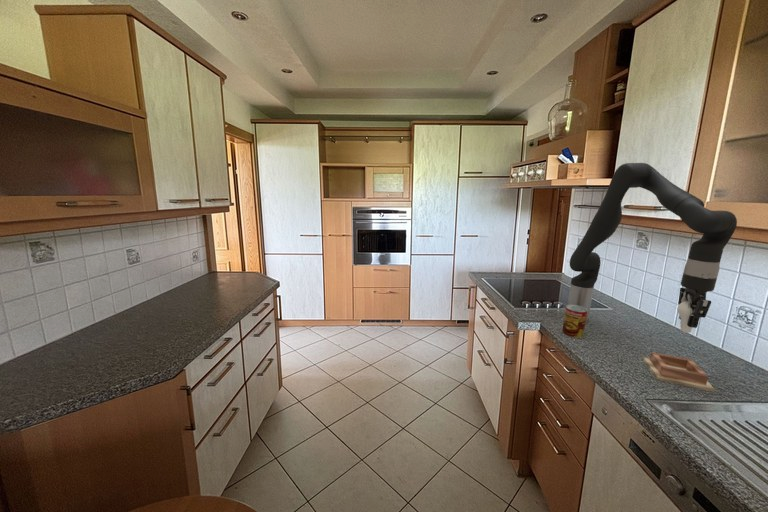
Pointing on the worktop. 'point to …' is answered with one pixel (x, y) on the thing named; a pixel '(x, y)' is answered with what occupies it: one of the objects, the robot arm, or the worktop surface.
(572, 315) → the canned food
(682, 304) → the lightbulb
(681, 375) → the socket stand
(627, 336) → the worktop surface
